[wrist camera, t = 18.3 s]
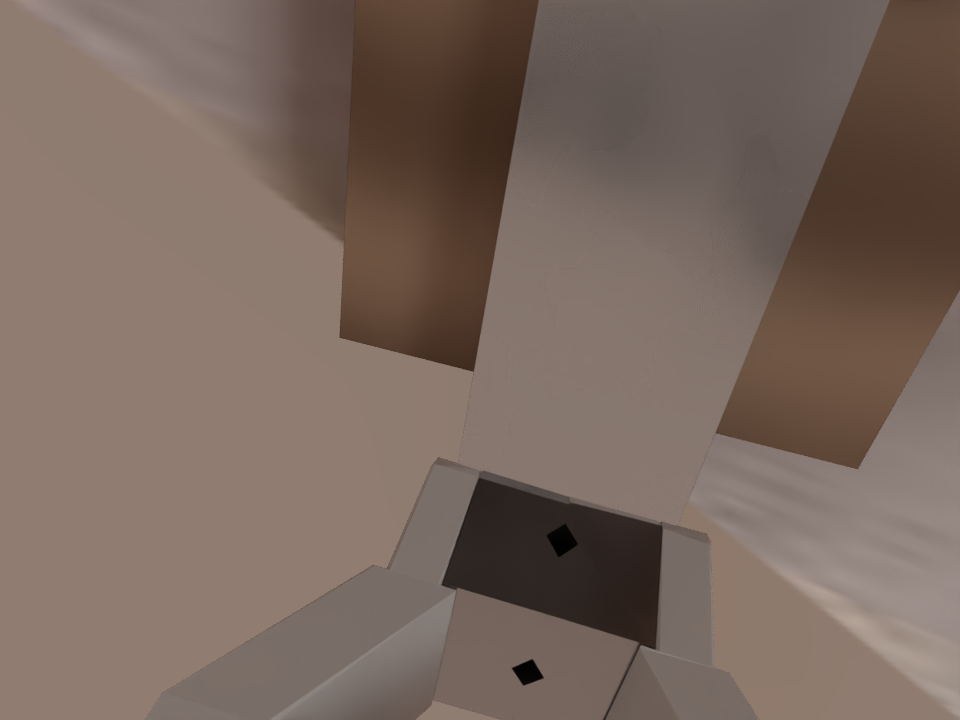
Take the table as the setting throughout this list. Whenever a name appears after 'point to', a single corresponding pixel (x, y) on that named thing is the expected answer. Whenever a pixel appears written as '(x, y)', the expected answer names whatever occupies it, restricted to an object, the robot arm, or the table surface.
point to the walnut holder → (806, 270)
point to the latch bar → (649, 232)
